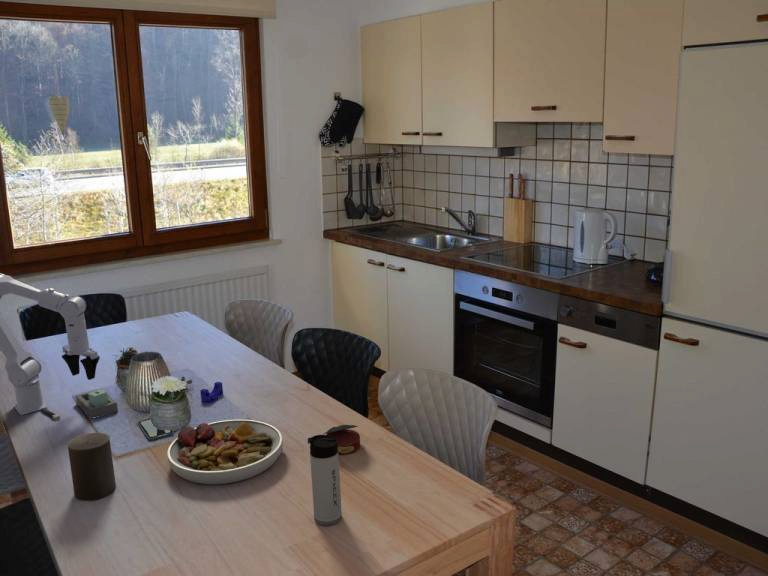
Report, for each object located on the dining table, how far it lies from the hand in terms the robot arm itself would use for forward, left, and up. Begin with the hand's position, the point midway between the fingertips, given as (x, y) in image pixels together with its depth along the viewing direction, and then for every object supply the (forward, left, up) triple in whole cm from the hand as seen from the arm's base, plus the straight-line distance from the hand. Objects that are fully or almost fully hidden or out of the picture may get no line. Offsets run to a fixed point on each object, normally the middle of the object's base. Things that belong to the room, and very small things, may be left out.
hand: (83, 376), depth 227 cm
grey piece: (+3, +2, -10) cm, 11 cm away
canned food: (+77, +44, -11) cm, 89 cm away
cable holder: (+21, +33, -11) cm, 41 cm away
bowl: (+62, +17, -11) cm, 65 cm away
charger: (+6, +2, -9) cm, 11 cm away
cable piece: (-3, -11, -10) cm, 16 cm away
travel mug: (+103, +21, -11) cm, 106 cm away
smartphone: (+30, +10, -11) cm, 33 cm away
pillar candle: (+54, -15, -11) cm, 57 cm away
